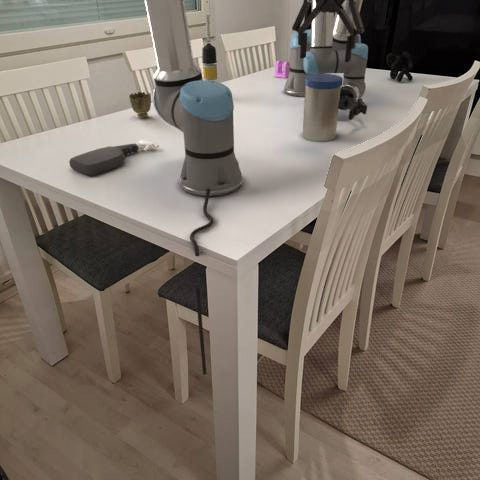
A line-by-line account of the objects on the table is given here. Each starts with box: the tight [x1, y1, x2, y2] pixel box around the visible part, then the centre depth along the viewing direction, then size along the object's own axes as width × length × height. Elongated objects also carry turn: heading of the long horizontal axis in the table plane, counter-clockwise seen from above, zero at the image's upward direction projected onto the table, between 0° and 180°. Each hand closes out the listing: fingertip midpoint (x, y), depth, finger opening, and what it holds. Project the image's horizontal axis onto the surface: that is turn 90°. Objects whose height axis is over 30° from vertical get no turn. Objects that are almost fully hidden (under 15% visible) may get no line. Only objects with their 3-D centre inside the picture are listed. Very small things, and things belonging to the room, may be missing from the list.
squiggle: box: [385, 51, 414, 83], centre depth 198 cm, size 11×10×15 cm
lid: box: [304, 73, 344, 89], centre depth 130 cm, size 11×11×2 cm
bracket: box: [274, 59, 290, 79], centre depth 212 cm, size 13×6×7 cm, turn 143°
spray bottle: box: [68, 139, 160, 177], centre depth 124 cm, size 3×11×24 cm
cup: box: [128, 91, 152, 119], centre depth 156 cm, size 8×7×8 cm
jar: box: [302, 85, 341, 142], centre depth 135 cm, size 10×10×17 cm
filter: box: [201, 14, 218, 82], centre depth 171 cm, size 6×6×30 cm
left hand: (324, 59), depth 127 cm, fingers open, 13 cm apart
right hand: (328, 113), depth 139 cm, fingers open, 13 cm apart
